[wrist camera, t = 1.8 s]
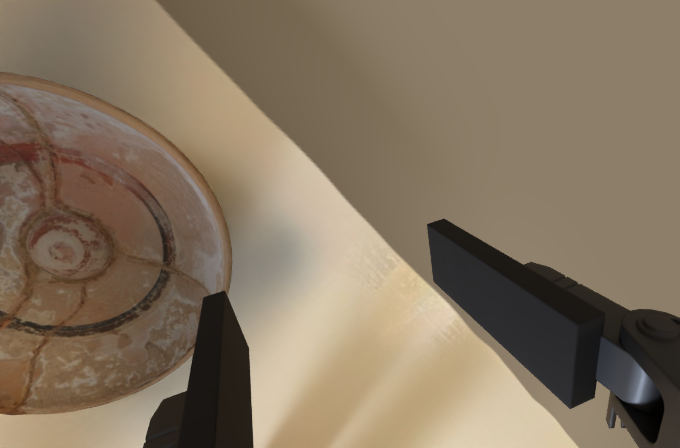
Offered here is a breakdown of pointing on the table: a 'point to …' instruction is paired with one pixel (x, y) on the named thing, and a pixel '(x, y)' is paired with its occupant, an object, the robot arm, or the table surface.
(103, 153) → the ceramic bowl
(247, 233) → the table surface
